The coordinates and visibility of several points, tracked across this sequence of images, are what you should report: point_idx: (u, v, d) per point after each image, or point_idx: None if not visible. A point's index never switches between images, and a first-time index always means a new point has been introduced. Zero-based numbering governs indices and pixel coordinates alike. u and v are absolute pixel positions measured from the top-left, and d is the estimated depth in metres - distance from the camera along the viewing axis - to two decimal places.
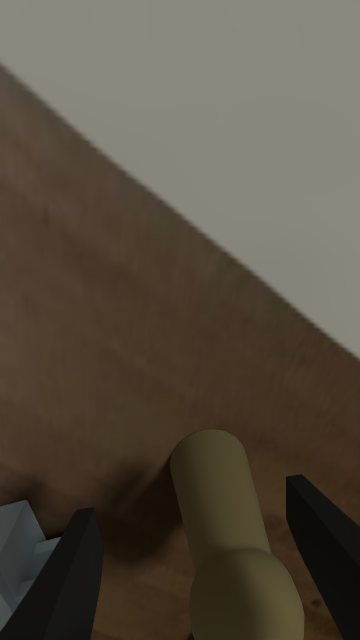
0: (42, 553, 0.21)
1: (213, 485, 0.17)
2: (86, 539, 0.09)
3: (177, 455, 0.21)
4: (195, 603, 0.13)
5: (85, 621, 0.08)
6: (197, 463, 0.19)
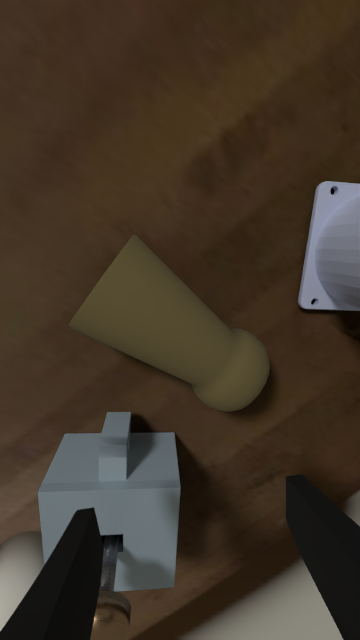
0: None
1: (150, 361, 0.15)
2: (86, 539, 0.09)
3: None
4: None
5: (85, 621, 0.08)
6: (115, 348, 0.15)
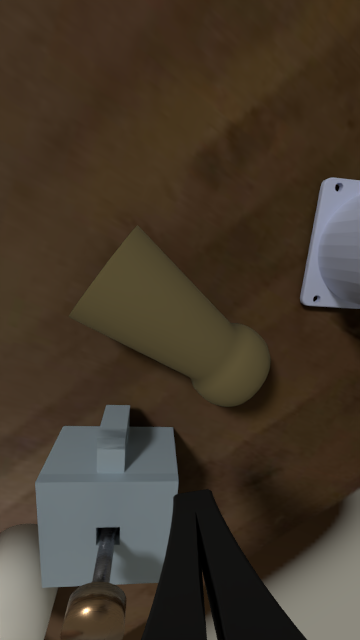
0: None
1: (150, 354, 0.15)
2: (196, 521, 0.09)
3: None
4: None
5: (203, 599, 0.09)
6: (115, 339, 0.15)
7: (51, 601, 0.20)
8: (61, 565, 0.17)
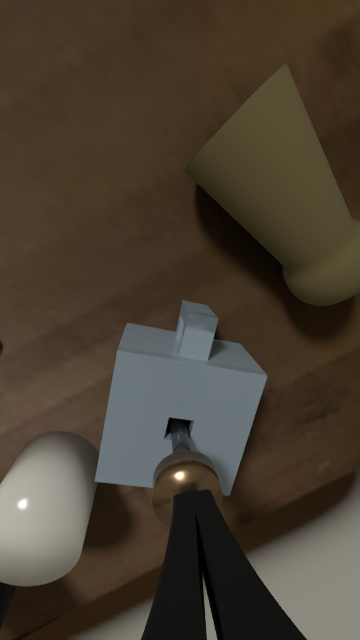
0: (180, 330, 0.18)
1: (270, 220, 0.14)
2: (196, 521, 0.09)
3: (196, 179, 0.14)
4: (293, 294, 0.17)
5: (203, 599, 0.09)
6: (235, 198, 0.14)
7: (90, 509, 0.18)
8: (121, 457, 0.16)
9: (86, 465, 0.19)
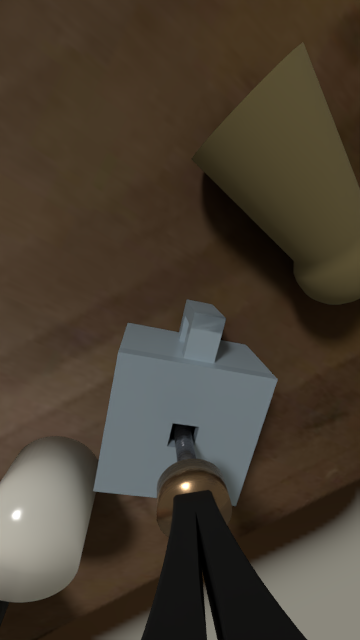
0: (184, 331, 0.17)
1: (285, 211, 0.13)
2: (196, 521, 0.09)
3: (205, 168, 0.13)
4: (305, 293, 0.16)
5: (203, 599, 0.09)
6: (247, 187, 0.13)
7: (88, 519, 0.17)
8: (122, 465, 0.15)
9: (84, 472, 0.18)
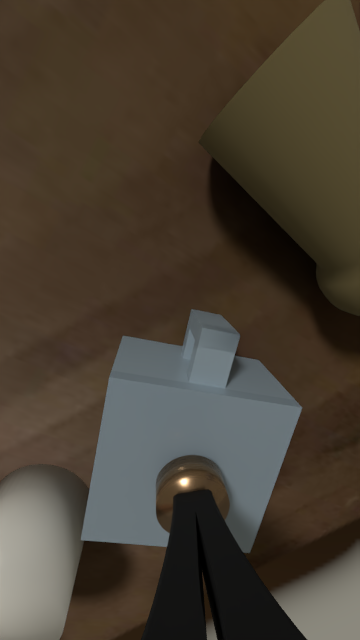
0: (189, 346, 0.14)
1: (314, 204, 0.10)
2: (196, 521, 0.09)
3: (215, 152, 0.11)
4: (331, 302, 0.14)
5: (203, 599, 0.09)
6: (268, 175, 0.10)
7: (77, 566, 0.15)
8: (115, 510, 0.12)
9: (73, 508, 0.16)
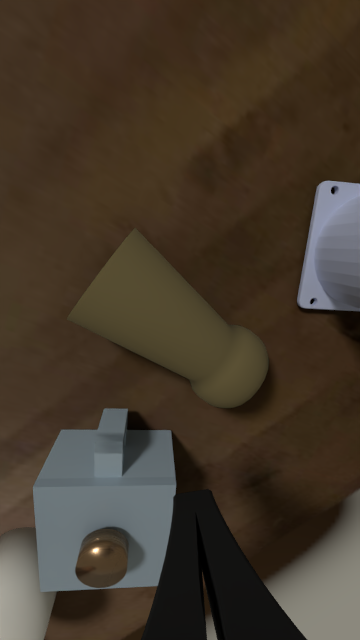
0: None
1: (150, 356, 0.15)
2: (196, 521, 0.09)
3: None
4: None
5: (203, 599, 0.09)
6: (114, 342, 0.15)
7: (50, 605, 0.20)
8: (59, 569, 0.17)
9: None
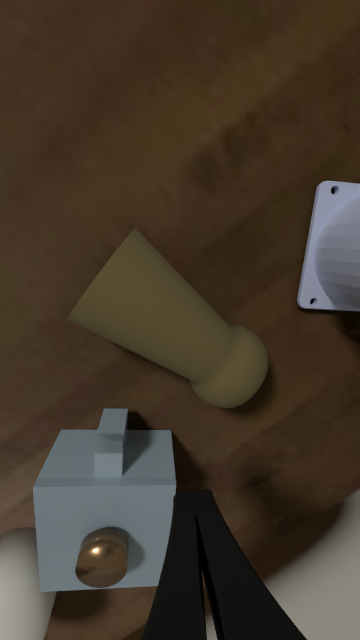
0: None
1: (149, 356, 0.15)
2: (196, 521, 0.09)
3: None
4: None
5: (203, 599, 0.09)
6: (114, 342, 0.15)
7: (50, 605, 0.20)
8: (59, 569, 0.17)
9: None
